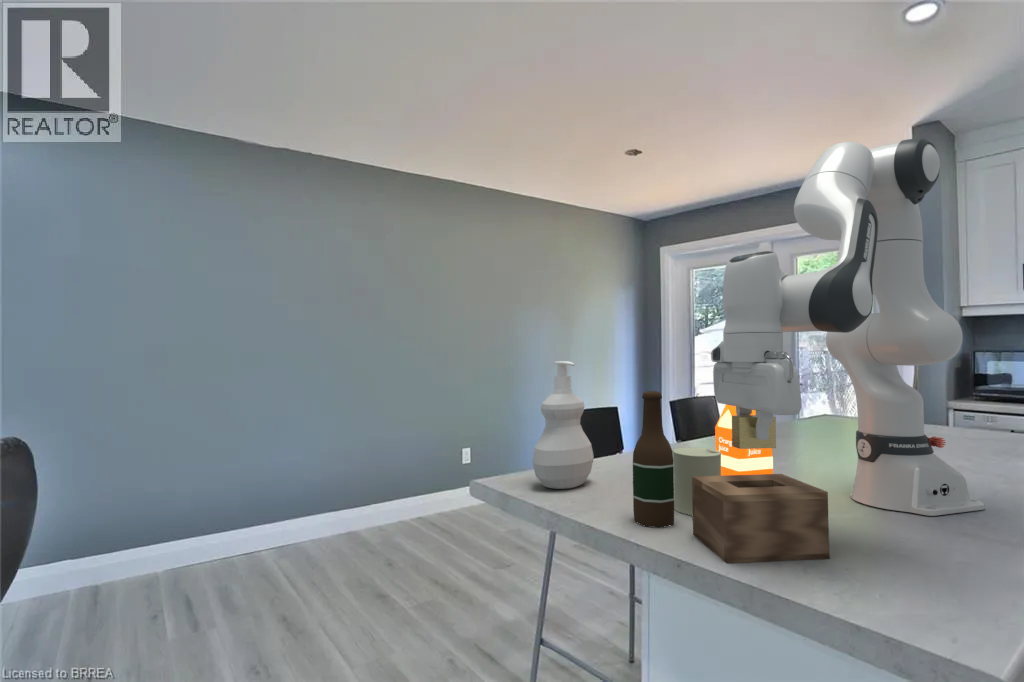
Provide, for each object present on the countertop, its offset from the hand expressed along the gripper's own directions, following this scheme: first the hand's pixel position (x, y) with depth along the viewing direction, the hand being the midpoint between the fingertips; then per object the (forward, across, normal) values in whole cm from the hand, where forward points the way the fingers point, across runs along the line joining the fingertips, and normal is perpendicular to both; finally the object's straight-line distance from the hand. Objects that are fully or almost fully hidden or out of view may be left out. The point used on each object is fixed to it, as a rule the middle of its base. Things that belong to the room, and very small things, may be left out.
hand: (754, 437), depth 85 cm
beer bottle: (+18, +14, +12) cm, 26 cm away
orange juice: (+18, +30, -14) cm, 38 cm away
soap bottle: (+18, +42, +24) cm, 52 cm away
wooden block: (+2, 0, 0) cm, 2 cm away
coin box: (+18, 0, 0) cm, 18 cm away
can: (+18, +20, +1) cm, 27 cm away
